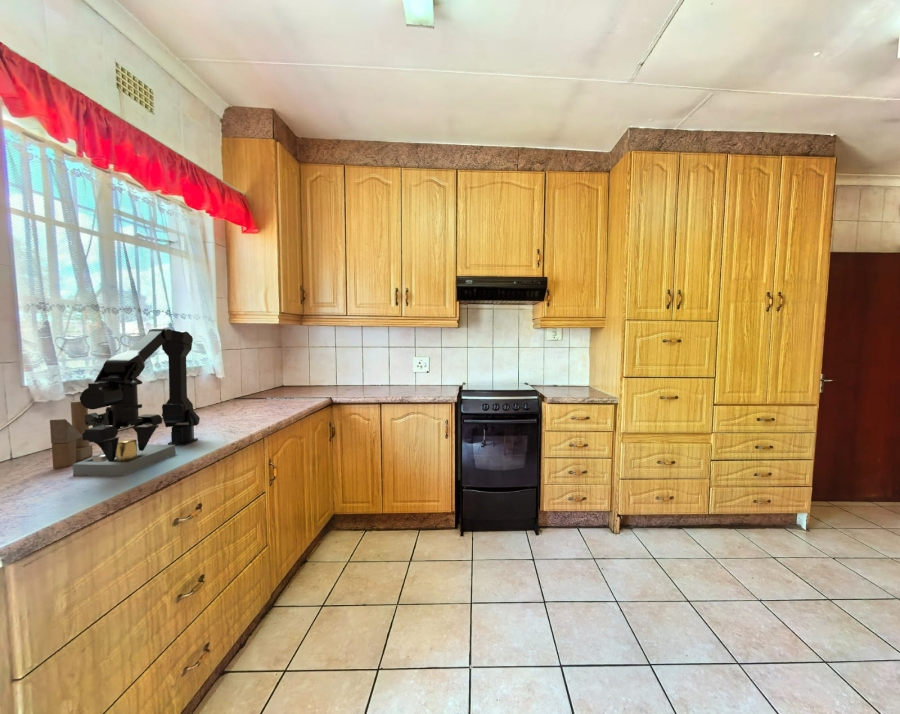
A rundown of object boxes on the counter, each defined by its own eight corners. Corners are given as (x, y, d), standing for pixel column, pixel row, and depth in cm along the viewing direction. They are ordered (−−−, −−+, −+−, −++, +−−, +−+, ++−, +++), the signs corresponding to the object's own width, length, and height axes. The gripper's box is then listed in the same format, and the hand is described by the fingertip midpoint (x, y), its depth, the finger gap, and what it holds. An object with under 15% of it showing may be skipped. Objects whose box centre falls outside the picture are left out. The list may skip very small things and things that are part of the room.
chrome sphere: (104, 465, 104) (103, 452, 104) (118, 465, 104) (118, 452, 104) (88, 471, 100) (87, 457, 99) (103, 471, 100) (103, 457, 99)
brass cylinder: (127, 465, 104) (125, 439, 103) (141, 466, 104) (140, 439, 103) (112, 471, 99) (111, 443, 99) (127, 471, 99) (126, 444, 99)
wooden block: (52, 468, 101) (48, 406, 100) (79, 456, 112) (75, 400, 111) (68, 467, 103) (64, 406, 101) (93, 455, 113) (90, 399, 112)
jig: (133, 453, 115) (133, 444, 115) (175, 453, 115) (175, 444, 114) (73, 475, 97) (72, 464, 97) (123, 475, 97) (122, 465, 96)
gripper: (127, 396, 110) (129, 445, 111) (60, 408, 91) (63, 467, 92) (162, 396, 110) (164, 445, 111) (101, 409, 91) (105, 468, 92)
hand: (127, 455), depth 101 cm, fingers open, 9 cm apart
